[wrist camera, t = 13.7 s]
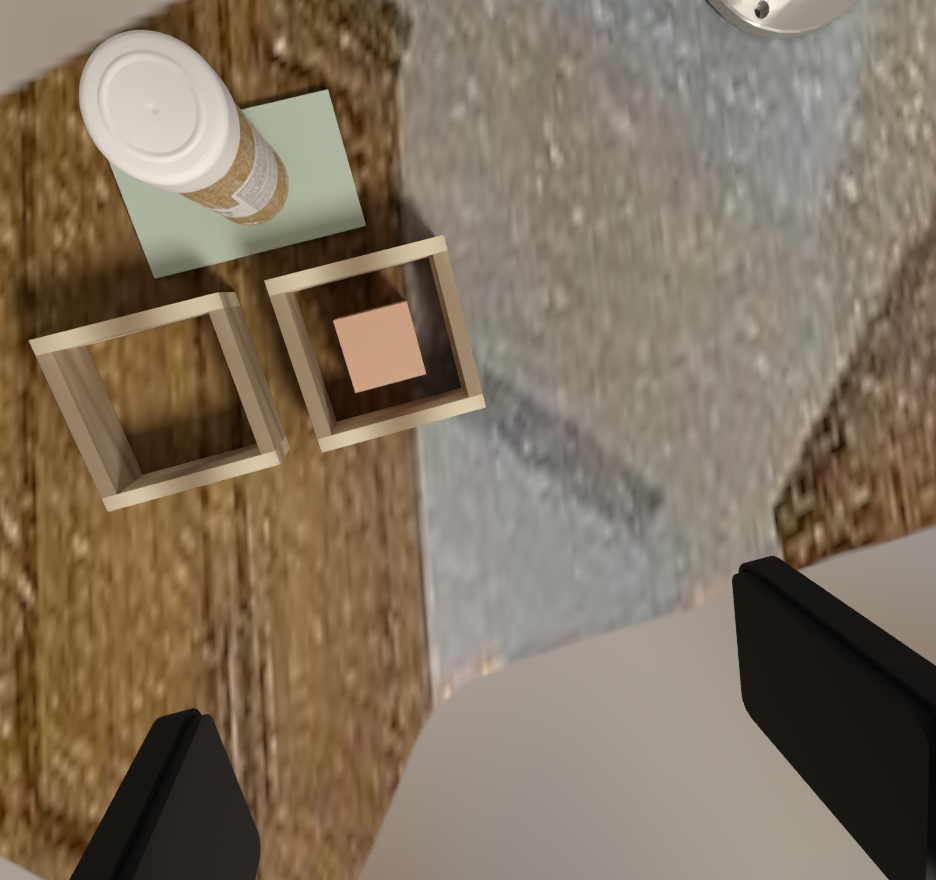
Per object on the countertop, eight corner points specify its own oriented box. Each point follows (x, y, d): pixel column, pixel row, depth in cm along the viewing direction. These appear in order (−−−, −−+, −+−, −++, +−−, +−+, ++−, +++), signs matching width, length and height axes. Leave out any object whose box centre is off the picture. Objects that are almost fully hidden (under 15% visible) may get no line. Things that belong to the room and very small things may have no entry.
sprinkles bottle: (188, 196, 31) (48, 130, 18) (226, 117, 30) (109, -10, 17) (268, 243, 32) (189, 212, 19) (306, 168, 31) (251, 83, 18)
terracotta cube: (404, 300, 34) (406, 301, 31) (421, 364, 35) (426, 374, 32) (339, 317, 34) (333, 320, 30) (358, 381, 35) (355, 393, 31)
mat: (328, 91, 31) (327, 89, 31) (366, 226, 33) (366, 225, 33) (105, 144, 30) (101, 142, 30) (157, 278, 32) (154, 278, 32)
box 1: (235, 292, 33) (217, 292, 29) (290, 447, 35) (280, 464, 32) (65, 335, 32) (28, 340, 29) (134, 490, 35) (108, 511, 31)
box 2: (437, 240, 34) (443, 234, 30) (476, 396, 36) (485, 407, 33) (276, 281, 33) (264, 280, 30) (328, 437, 36) (322, 452, 32)
